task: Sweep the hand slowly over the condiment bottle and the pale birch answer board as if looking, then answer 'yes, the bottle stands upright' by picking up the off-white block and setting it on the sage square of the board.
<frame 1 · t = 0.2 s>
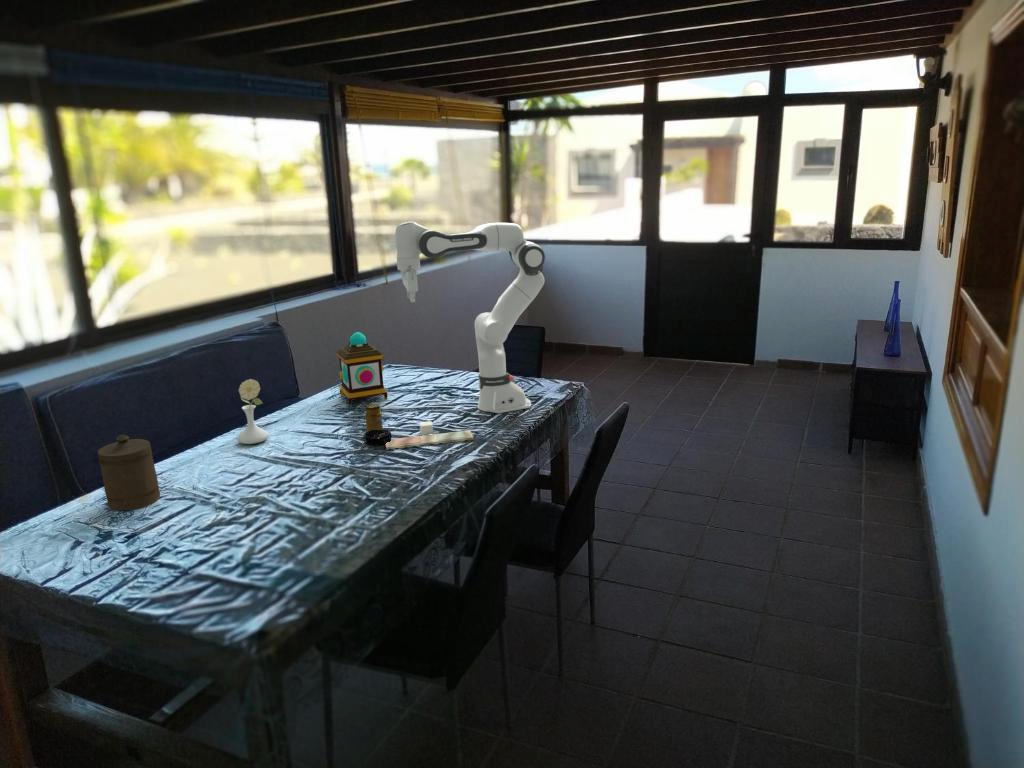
hand: (411, 300, 291), 48 cm above the table, tool pointing down, fingers open, 8 cm apart
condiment: (376, 436, 283), on the table
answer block: (426, 433, 284), on the table
decorative lantern: (363, 398, 331), on the table
flower in vase: (255, 442, 282), on the table
answer board: (429, 441, 275), on the table
wooden container: (134, 501, 235), on the table
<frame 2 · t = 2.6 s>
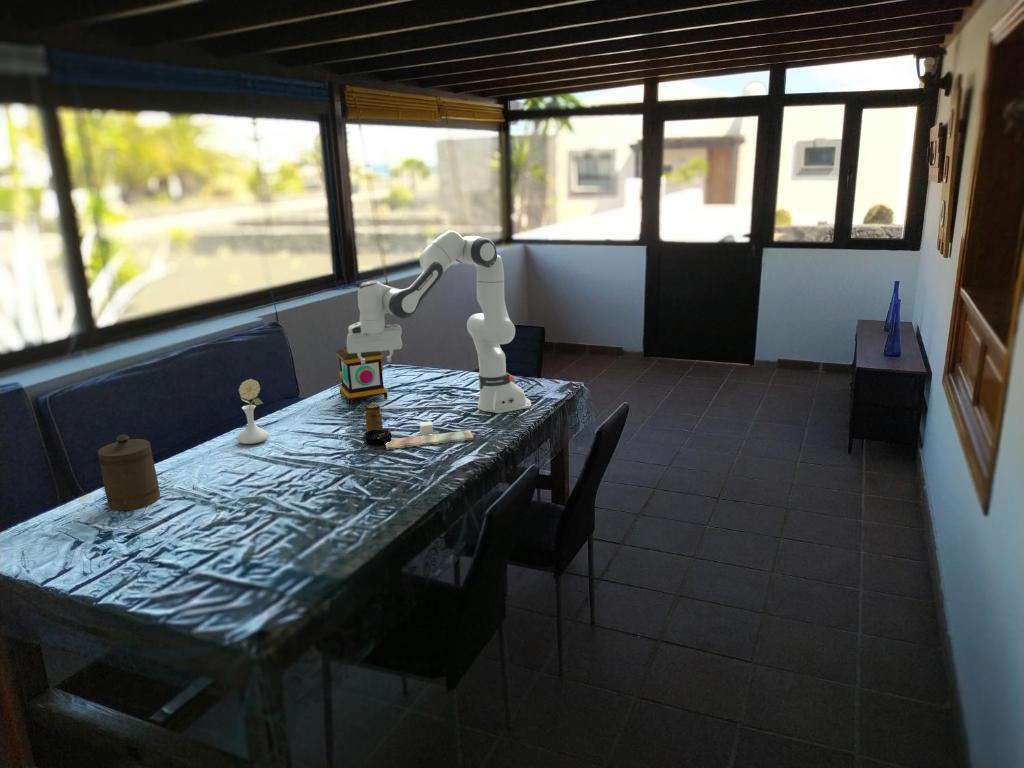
hand: (376, 362, 274), 29 cm above the table, tool pointing down, fingers open, 8 cm apart
nothing on the table moved.
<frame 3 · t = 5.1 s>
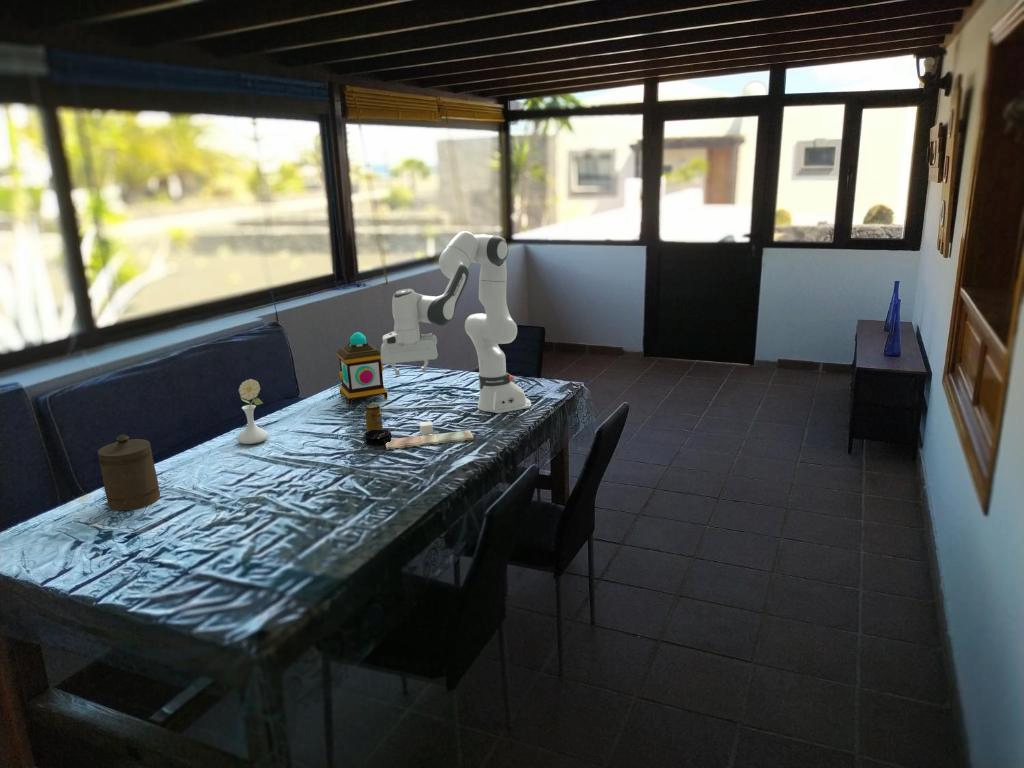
hand: (410, 373, 267), 27 cm above the table, tool pointing down, fingers open, 8 cm apart
nothing on the table moved.
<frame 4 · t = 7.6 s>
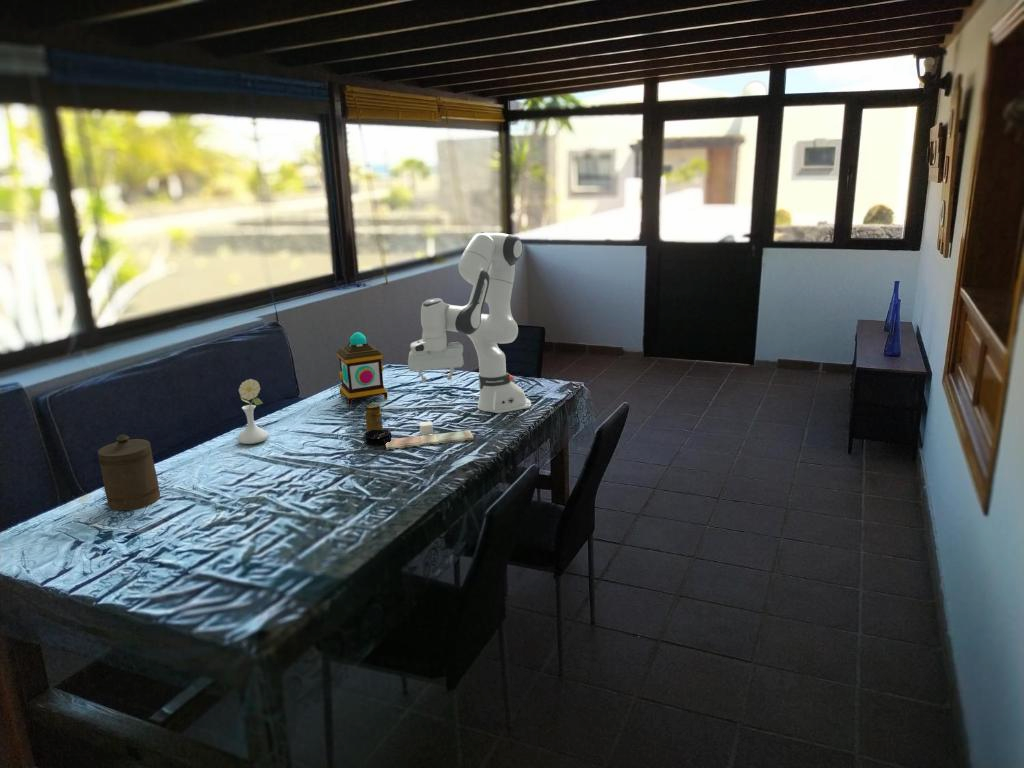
hand: (436, 380, 274), 22 cm above the table, tool pointing down, fingers open, 8 cm apart
nothing on the table moved.
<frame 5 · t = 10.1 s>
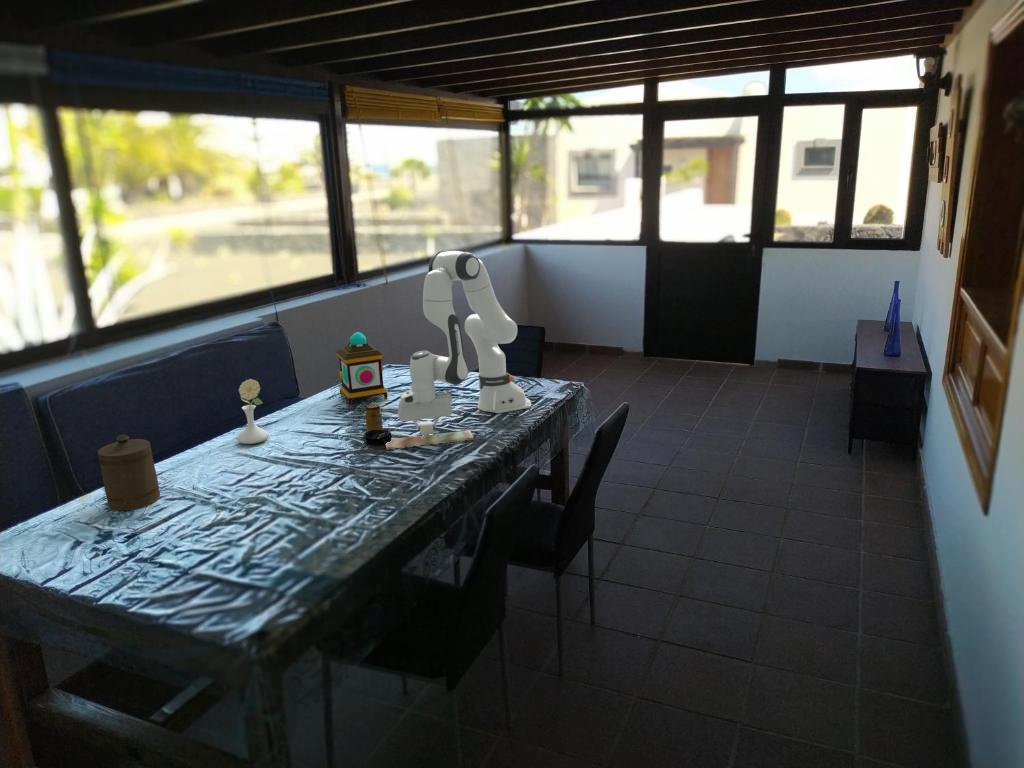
hand: (426, 428, 283), 2 cm above the table, tool pointing down, fingers closed on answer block, 4 cm apart
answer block: (426, 433, 284), on the table, touching gripper
everything else where it was.
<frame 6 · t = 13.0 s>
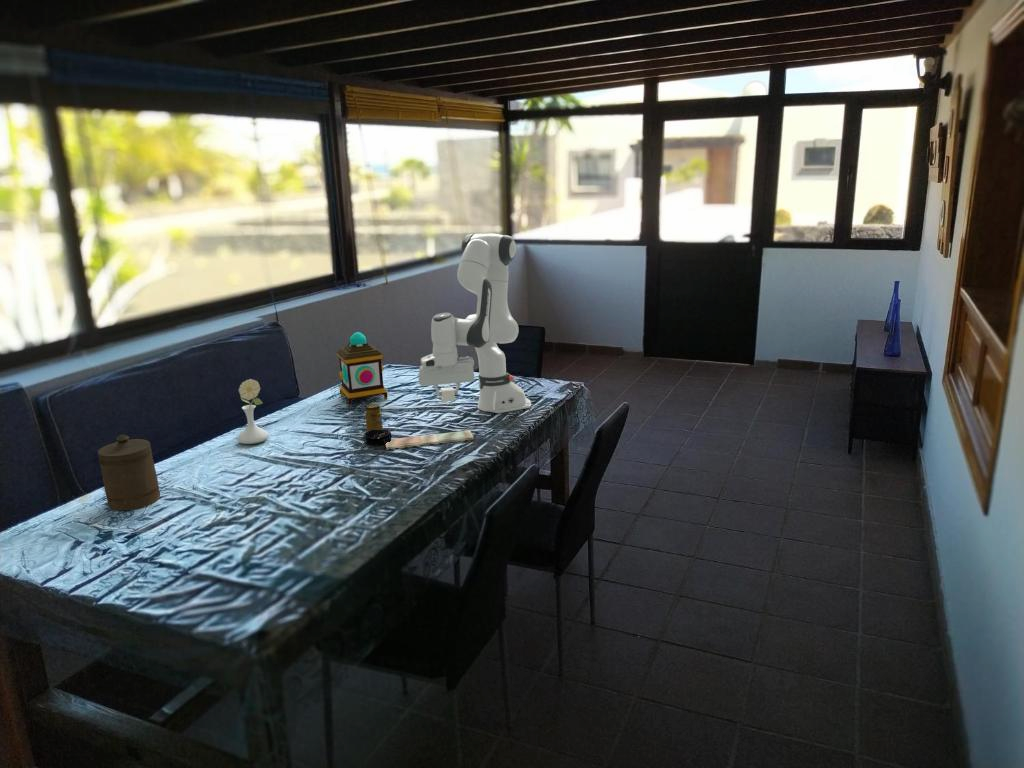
hand: (447, 395, 272), 17 cm above the table, tool pointing down, fingers closed on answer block, 4 cm apart
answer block: (448, 399, 273), point 15 cm above the table, touching gripper
everything else where it was.
when the fingers open (4 cm above the table, at t = 15.9 s): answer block stays where it is, resting on answer board.
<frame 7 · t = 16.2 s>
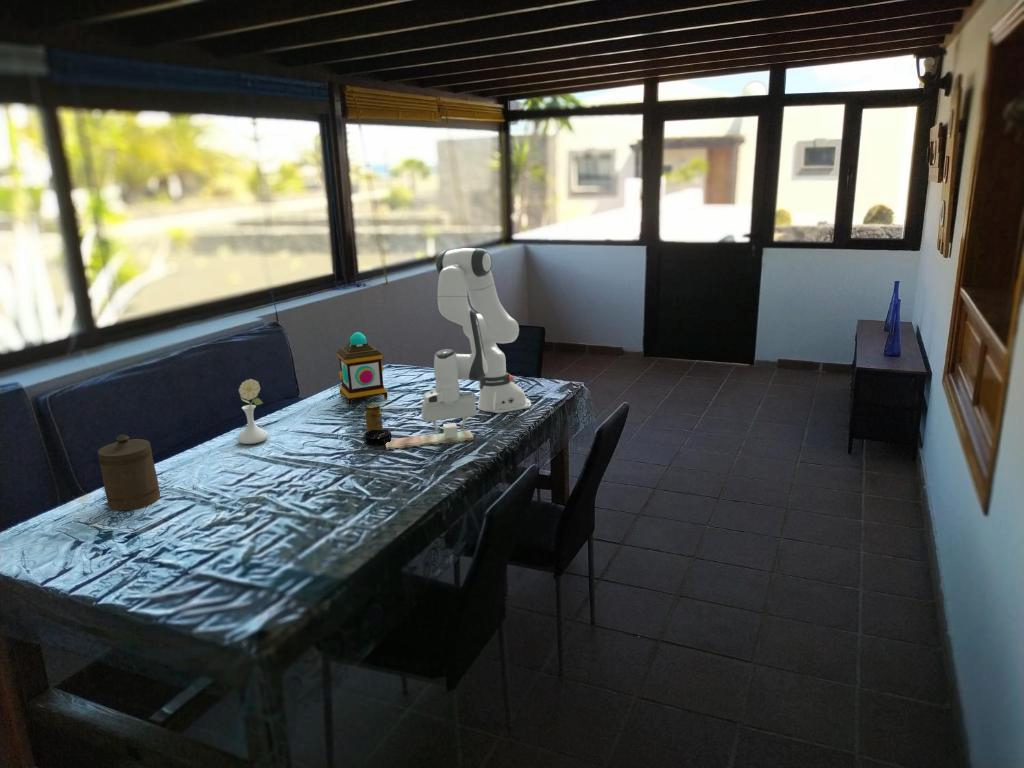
hand: (450, 429, 276), 4 cm above the table, tool pointing down, fingers open, 8 cm apart
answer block: (450, 435, 277), point 1 cm above the table, touching answer board
everything else where it was.
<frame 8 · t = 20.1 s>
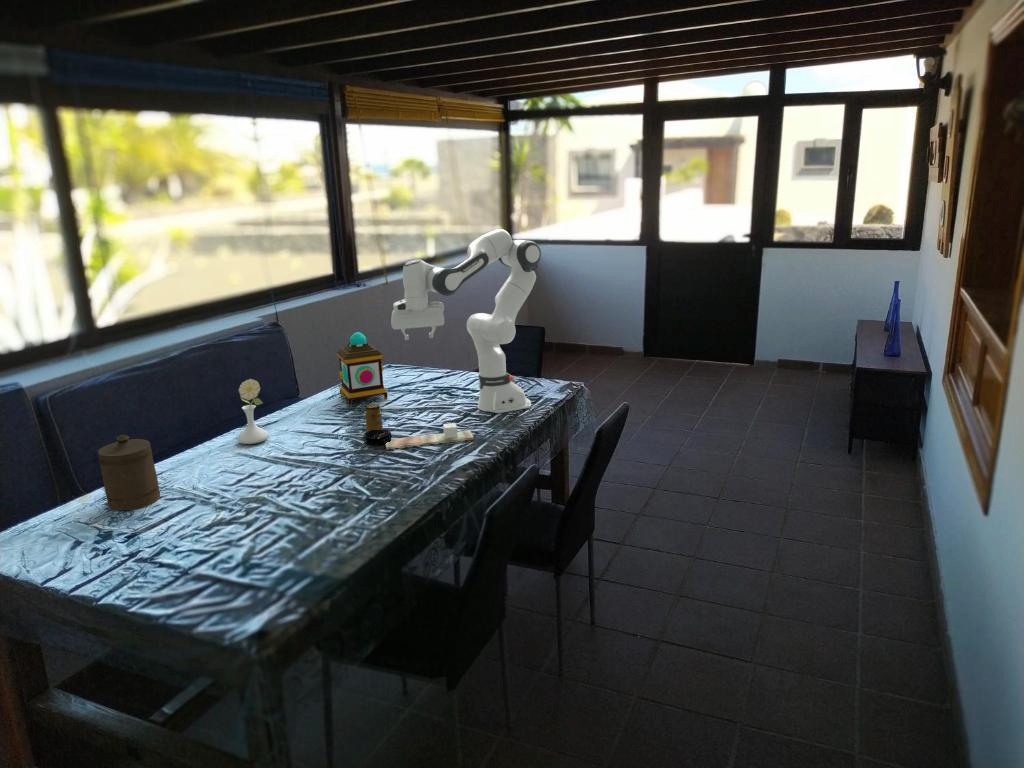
hand: (419, 338, 286), 34 cm above the table, tool pointing down, fingers open, 8 cm apart
nothing on the table moved.
at the end: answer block inside the target area on the answer board (0.0 cm from its centre), point 1.2 cm above the answer board's base; the gripper is holding nothing; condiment moved 0.3 cm from its start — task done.
